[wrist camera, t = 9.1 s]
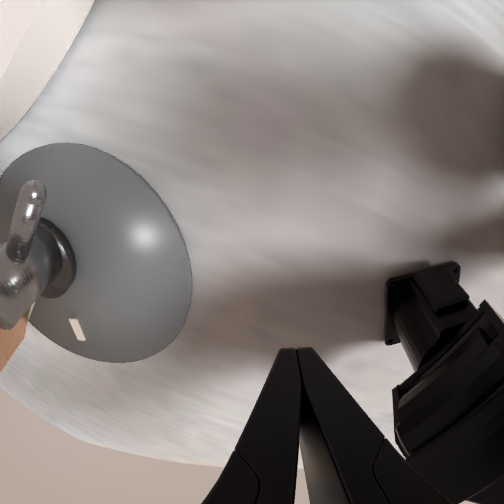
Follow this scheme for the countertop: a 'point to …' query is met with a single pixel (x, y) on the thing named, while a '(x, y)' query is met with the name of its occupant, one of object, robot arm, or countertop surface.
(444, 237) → the countertop surface
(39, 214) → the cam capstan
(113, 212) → the dial plate
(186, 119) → the countertop surface
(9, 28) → the ring with crossbar
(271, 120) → the countertop surface
